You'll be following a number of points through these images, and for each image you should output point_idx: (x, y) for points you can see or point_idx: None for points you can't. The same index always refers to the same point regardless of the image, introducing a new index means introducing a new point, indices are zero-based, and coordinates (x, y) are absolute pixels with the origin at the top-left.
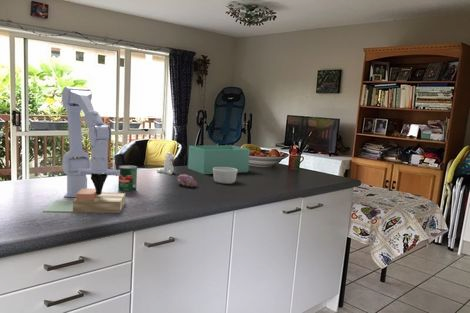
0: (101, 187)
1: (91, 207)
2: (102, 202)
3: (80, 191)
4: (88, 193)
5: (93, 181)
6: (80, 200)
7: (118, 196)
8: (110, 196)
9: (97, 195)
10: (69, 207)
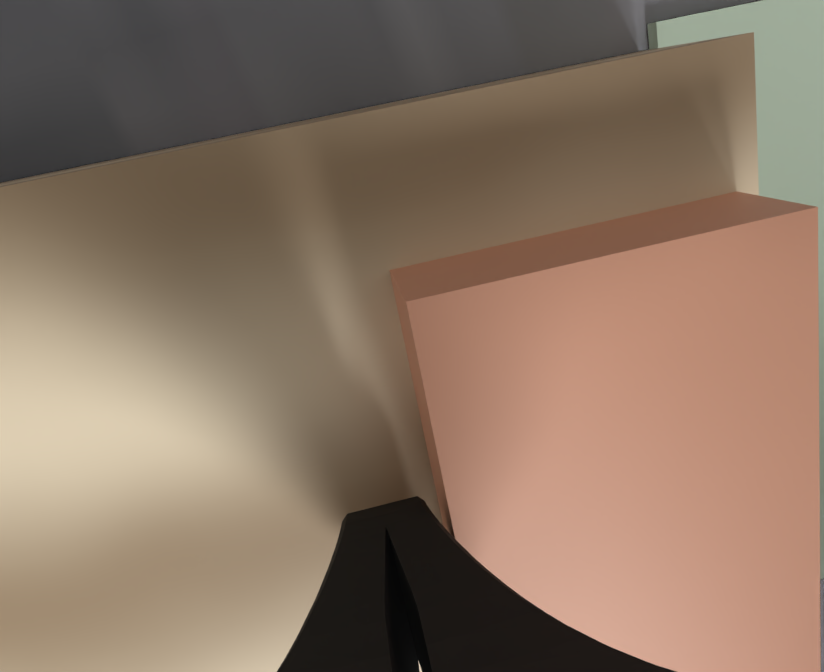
0: (308, 617)
1: (355, 111)
2: (123, 161)
3: (784, 450)
4: (555, 337)
5: (583, 656)
6: (620, 118)
7: (25, 667)
8: (179, 612)
9: None
10: None
